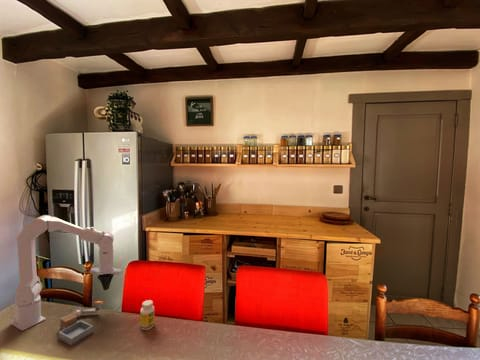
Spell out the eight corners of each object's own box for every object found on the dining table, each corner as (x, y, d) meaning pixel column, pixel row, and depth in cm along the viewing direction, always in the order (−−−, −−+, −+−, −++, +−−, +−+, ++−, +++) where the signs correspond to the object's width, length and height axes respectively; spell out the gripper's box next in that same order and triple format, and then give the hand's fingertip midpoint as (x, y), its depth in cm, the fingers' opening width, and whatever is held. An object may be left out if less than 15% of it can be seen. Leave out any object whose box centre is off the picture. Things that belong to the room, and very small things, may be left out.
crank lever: (70, 318, 99) (70, 305, 99) (75, 312, 103) (75, 300, 103) (101, 316, 101) (101, 303, 101) (104, 310, 105) (104, 298, 105)
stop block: (60, 329, 92) (60, 318, 92) (71, 323, 96) (71, 313, 96) (65, 333, 90) (65, 321, 90) (76, 327, 94) (76, 316, 94)
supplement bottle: (149, 331, 92) (149, 307, 92) (137, 329, 93) (137, 305, 93) (156, 322, 97) (157, 299, 97) (145, 320, 98) (145, 298, 98)
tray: (58, 338, 87) (58, 332, 87) (80, 325, 95) (80, 319, 94) (71, 345, 84) (71, 338, 84) (93, 332, 91) (93, 325, 91)
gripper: (84, 262, 103) (85, 292, 104) (115, 264, 102) (115, 294, 102) (96, 256, 110) (96, 284, 111) (125, 258, 109) (125, 286, 109)
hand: (106, 289), depth 107 cm, fingers closed
